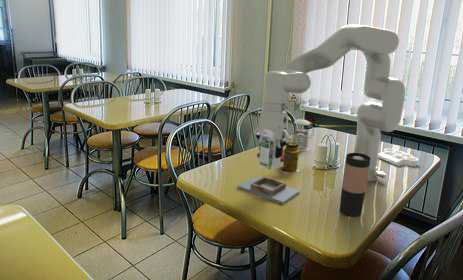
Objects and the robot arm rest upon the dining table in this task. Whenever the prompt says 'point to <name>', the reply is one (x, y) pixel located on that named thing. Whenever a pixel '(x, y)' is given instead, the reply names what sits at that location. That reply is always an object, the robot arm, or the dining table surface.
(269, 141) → the syrup box
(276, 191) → the socket frame
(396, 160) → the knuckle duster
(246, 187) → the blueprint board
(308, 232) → the dining table surface
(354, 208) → the travel mug
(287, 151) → the condiment
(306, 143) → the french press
